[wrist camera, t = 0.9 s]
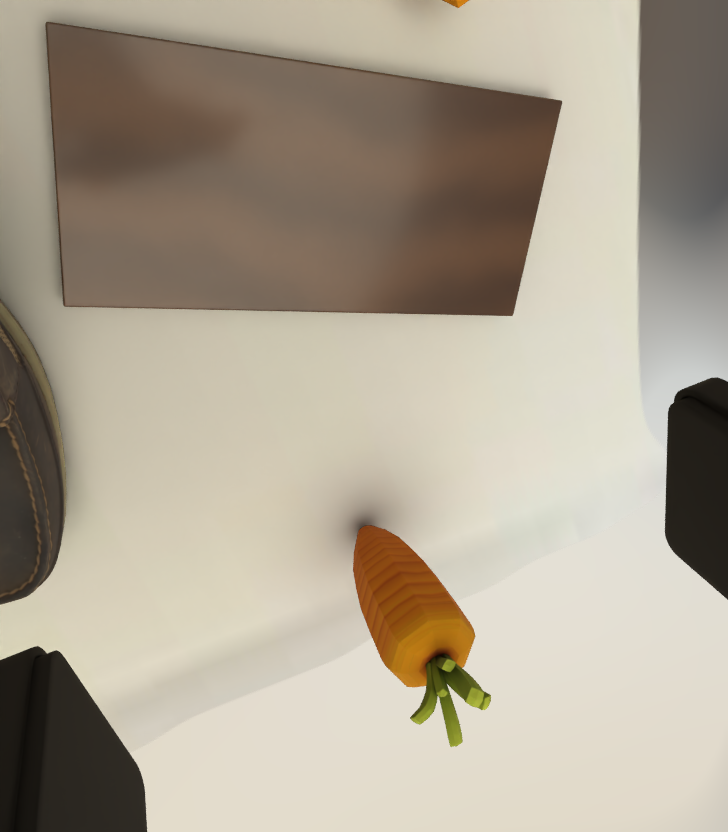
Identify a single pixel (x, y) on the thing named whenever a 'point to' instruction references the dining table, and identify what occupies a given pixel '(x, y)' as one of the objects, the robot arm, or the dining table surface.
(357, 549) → the carrot
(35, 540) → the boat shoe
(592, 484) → the dining table surface
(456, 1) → the corn
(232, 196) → the board
